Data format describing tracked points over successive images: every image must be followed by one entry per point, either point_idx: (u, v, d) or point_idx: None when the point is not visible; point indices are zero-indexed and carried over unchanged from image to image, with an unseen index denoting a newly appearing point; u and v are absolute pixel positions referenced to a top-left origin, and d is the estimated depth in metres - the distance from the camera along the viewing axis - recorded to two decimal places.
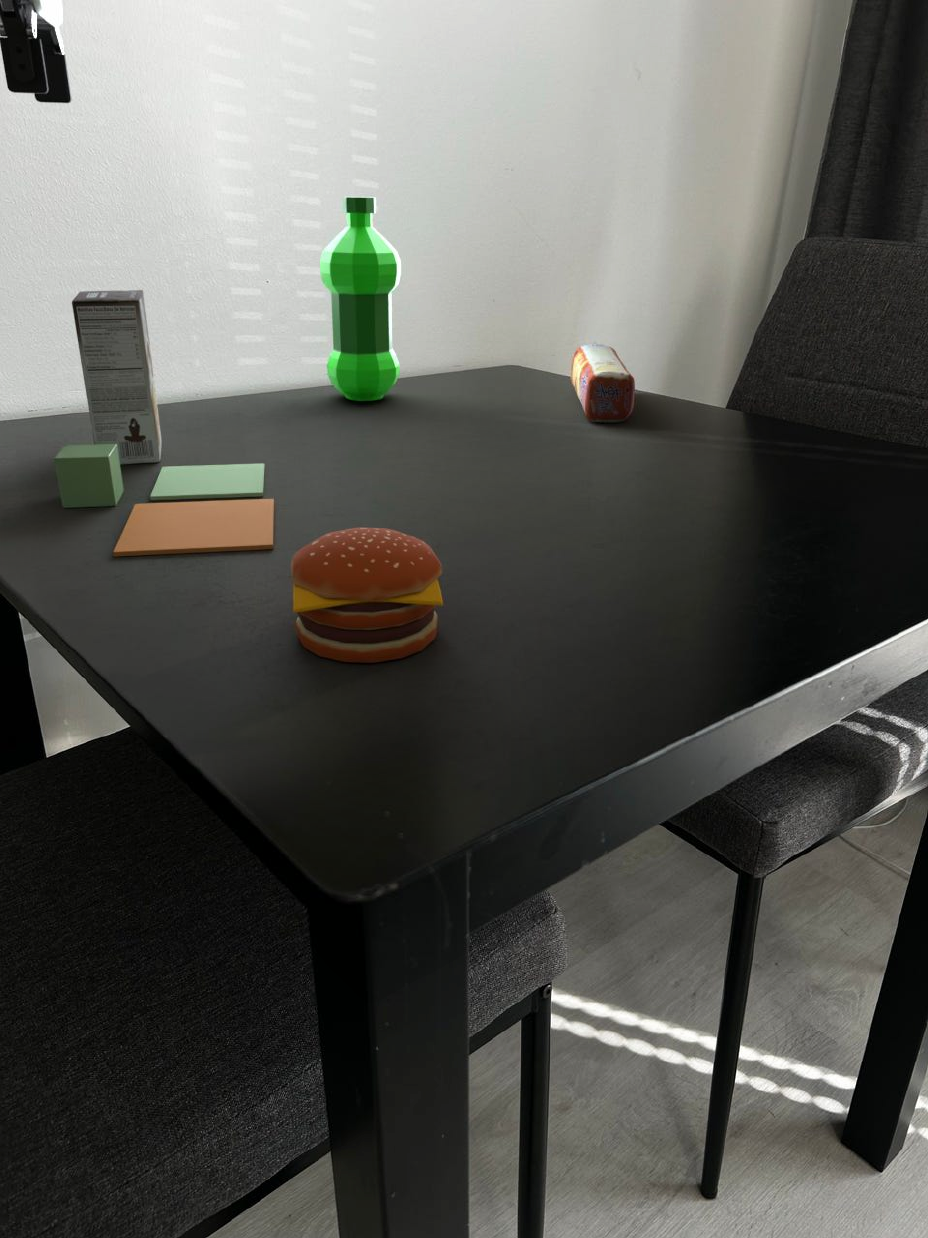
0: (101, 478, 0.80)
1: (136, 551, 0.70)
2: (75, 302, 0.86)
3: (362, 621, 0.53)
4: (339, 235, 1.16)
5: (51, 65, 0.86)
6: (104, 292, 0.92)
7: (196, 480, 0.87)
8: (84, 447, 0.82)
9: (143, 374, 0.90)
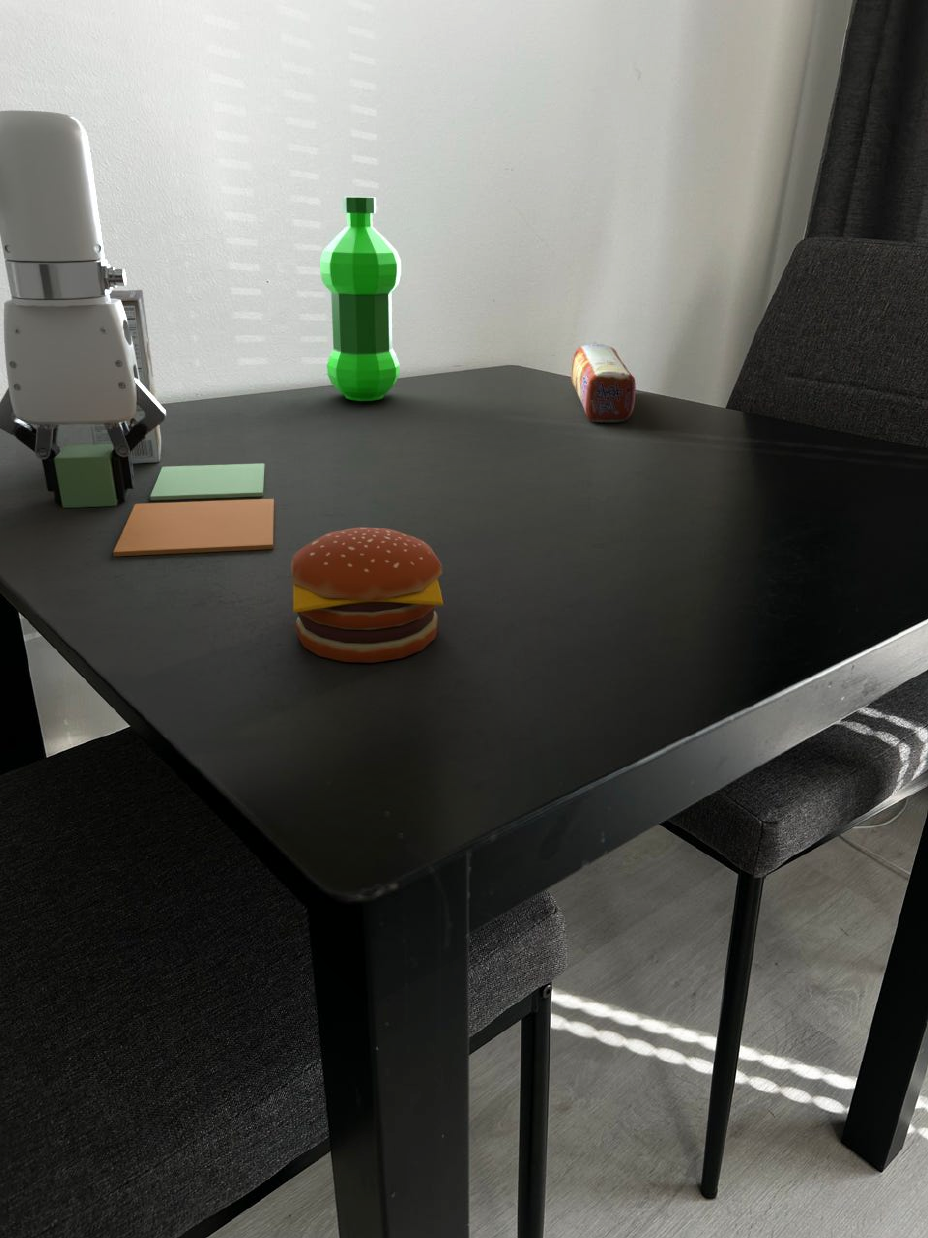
0: (101, 478, 0.80)
1: (136, 551, 0.70)
2: None
3: (362, 620, 0.53)
4: (339, 235, 1.16)
5: None
6: None
7: (196, 480, 0.87)
8: (84, 447, 0.82)
9: (143, 374, 0.90)
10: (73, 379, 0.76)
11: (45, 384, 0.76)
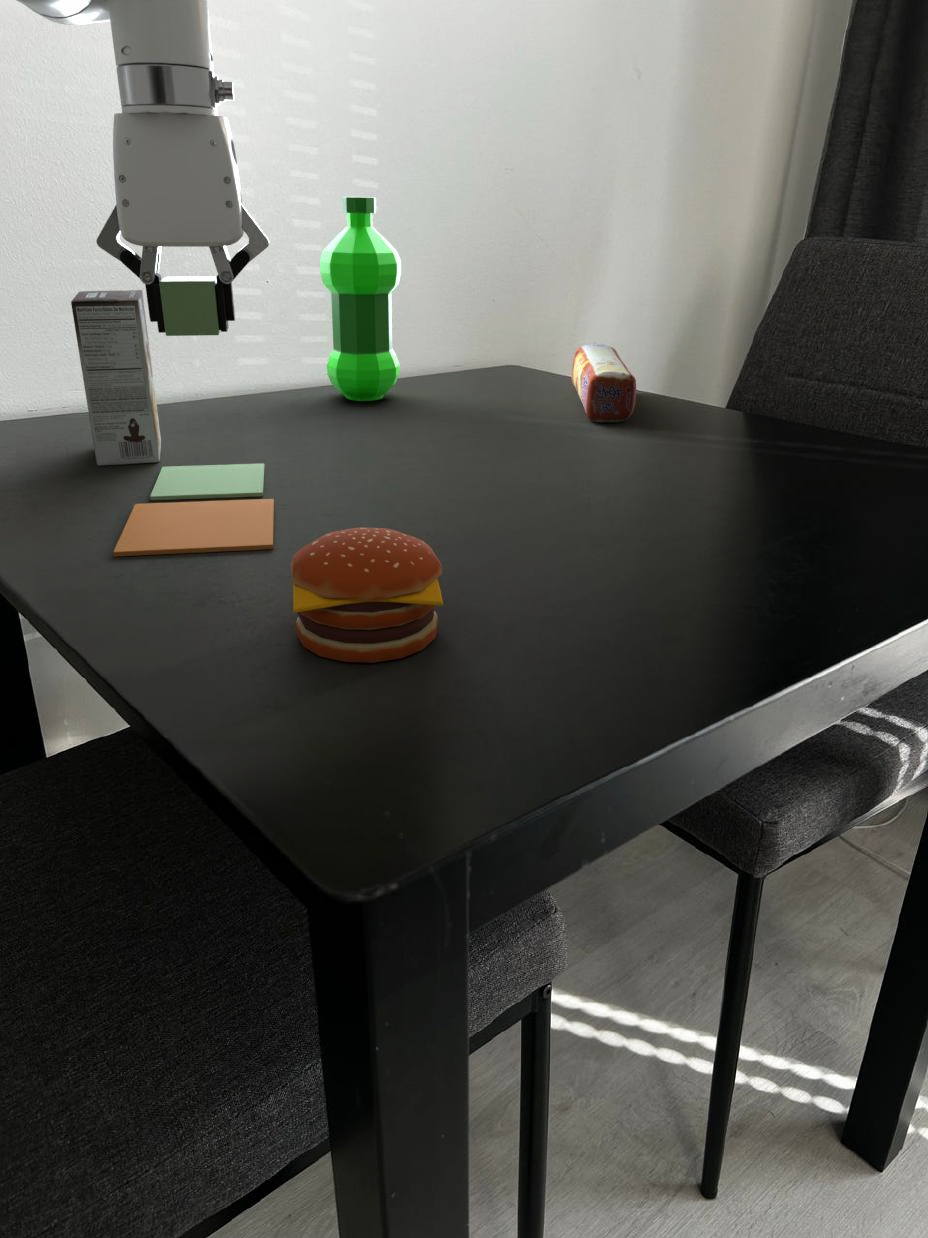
0: (205, 304, 0.79)
1: (136, 551, 0.70)
2: (74, 302, 0.86)
3: (362, 620, 0.53)
4: (339, 235, 1.16)
5: None
6: (103, 292, 0.92)
7: (196, 480, 0.87)
8: (185, 277, 0.81)
9: (143, 374, 0.90)
10: (181, 195, 0.75)
11: (153, 200, 0.75)
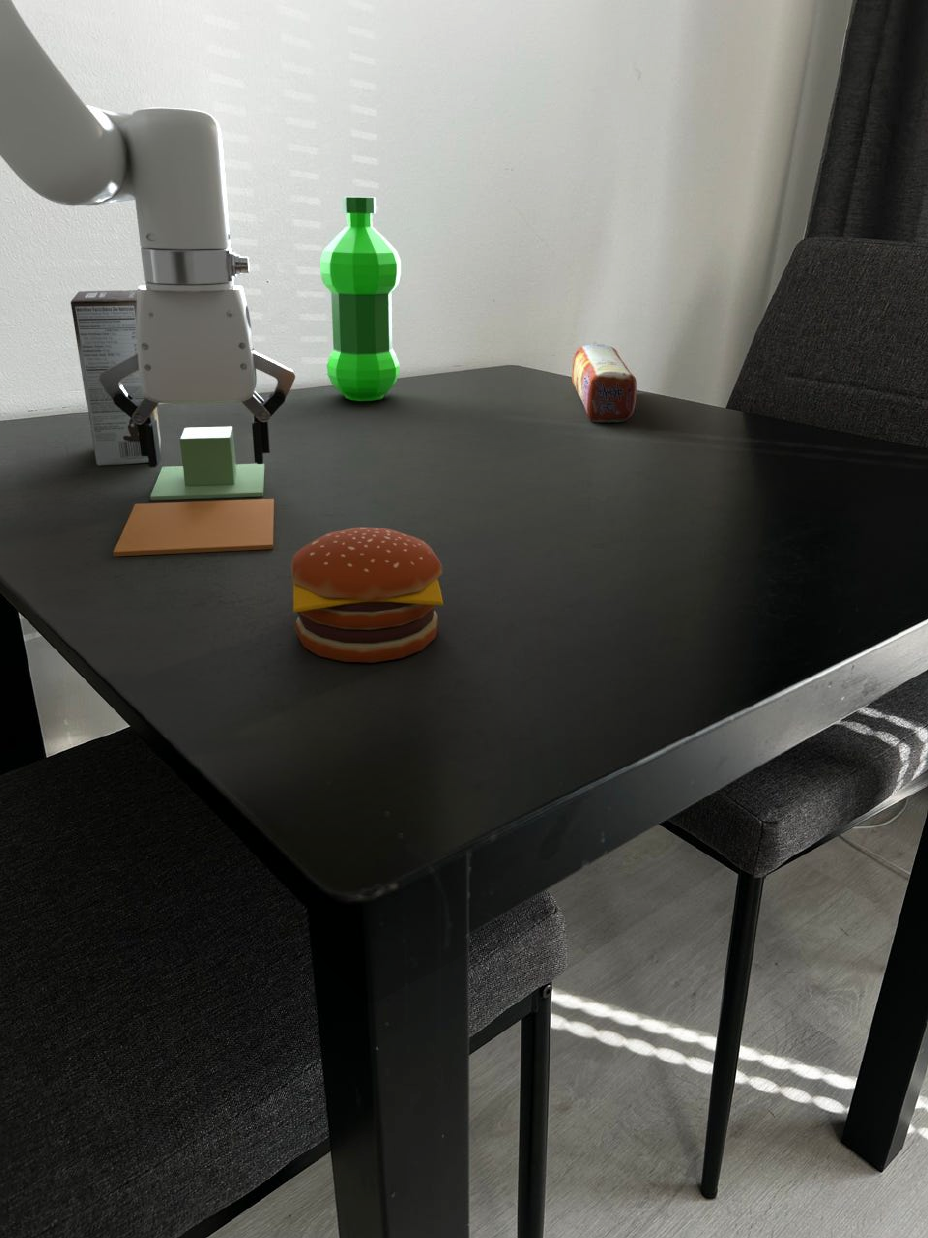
0: (222, 458, 0.85)
1: (136, 551, 0.70)
2: (74, 302, 0.86)
3: (362, 620, 0.53)
4: (339, 235, 1.16)
5: None
6: (103, 292, 0.92)
7: None
8: (203, 429, 0.87)
9: None
10: (199, 360, 0.81)
11: (173, 365, 0.80)
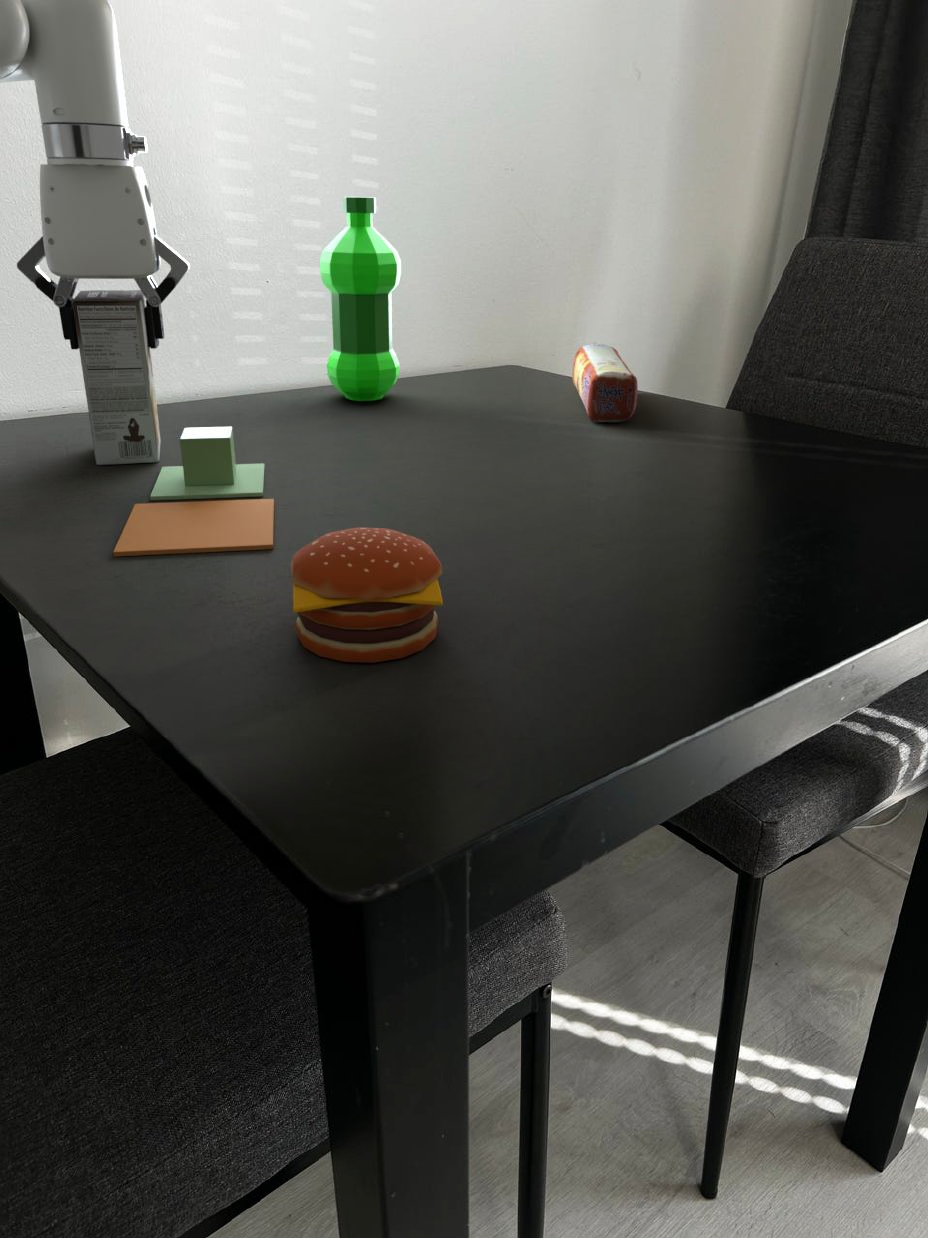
0: (222, 458, 0.85)
1: (136, 551, 0.70)
2: (76, 301, 0.86)
3: (362, 620, 0.53)
4: (339, 235, 1.16)
5: None
6: (105, 292, 0.92)
7: None
8: (203, 429, 0.87)
9: (143, 374, 0.90)
10: (100, 235, 0.86)
11: (76, 239, 0.86)
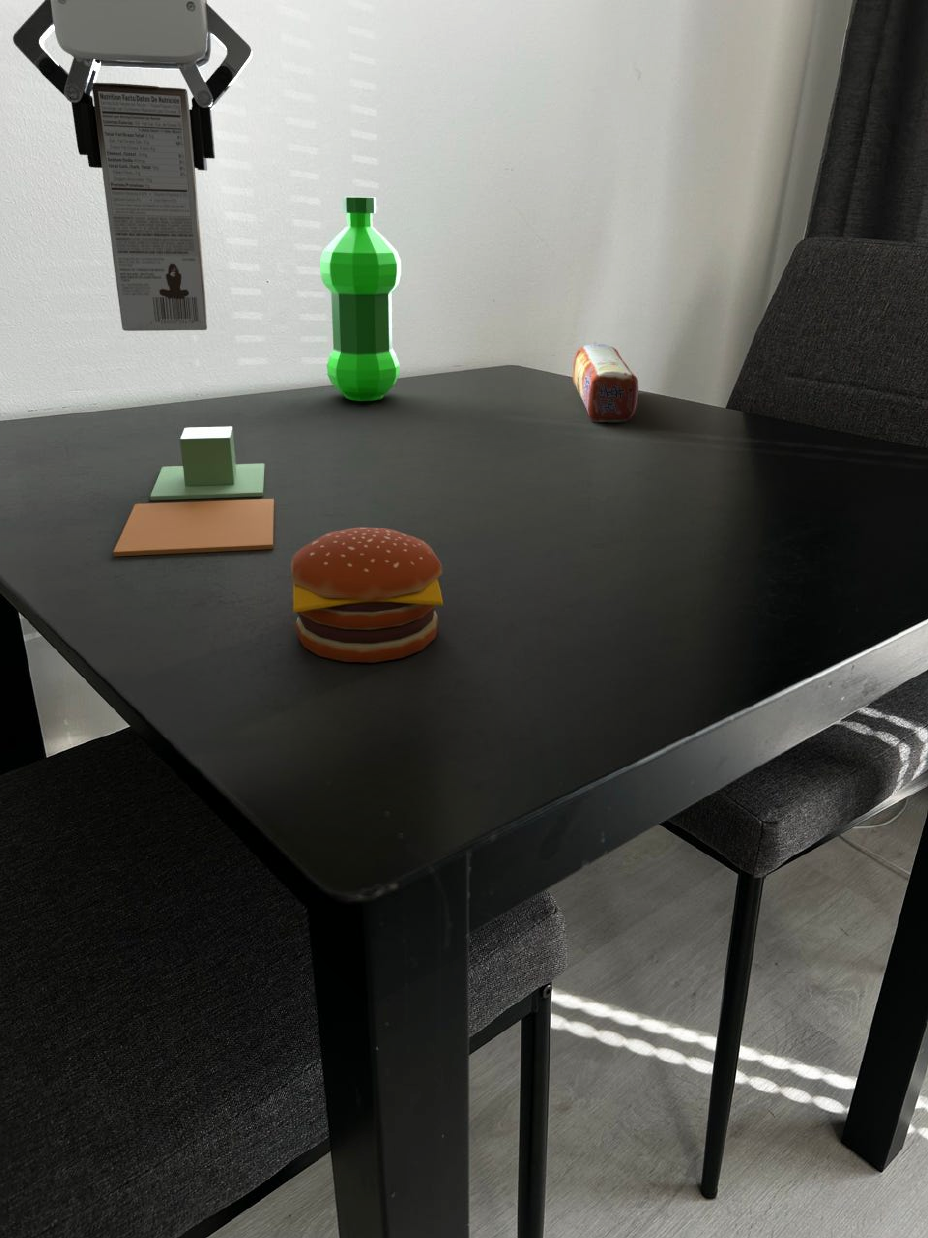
0: (222, 458, 0.85)
1: (136, 551, 0.70)
2: (97, 84, 0.61)
3: (362, 620, 0.53)
4: (339, 235, 1.16)
5: None
6: None
7: None
8: (203, 429, 0.87)
9: (188, 200, 0.65)
10: None
11: None
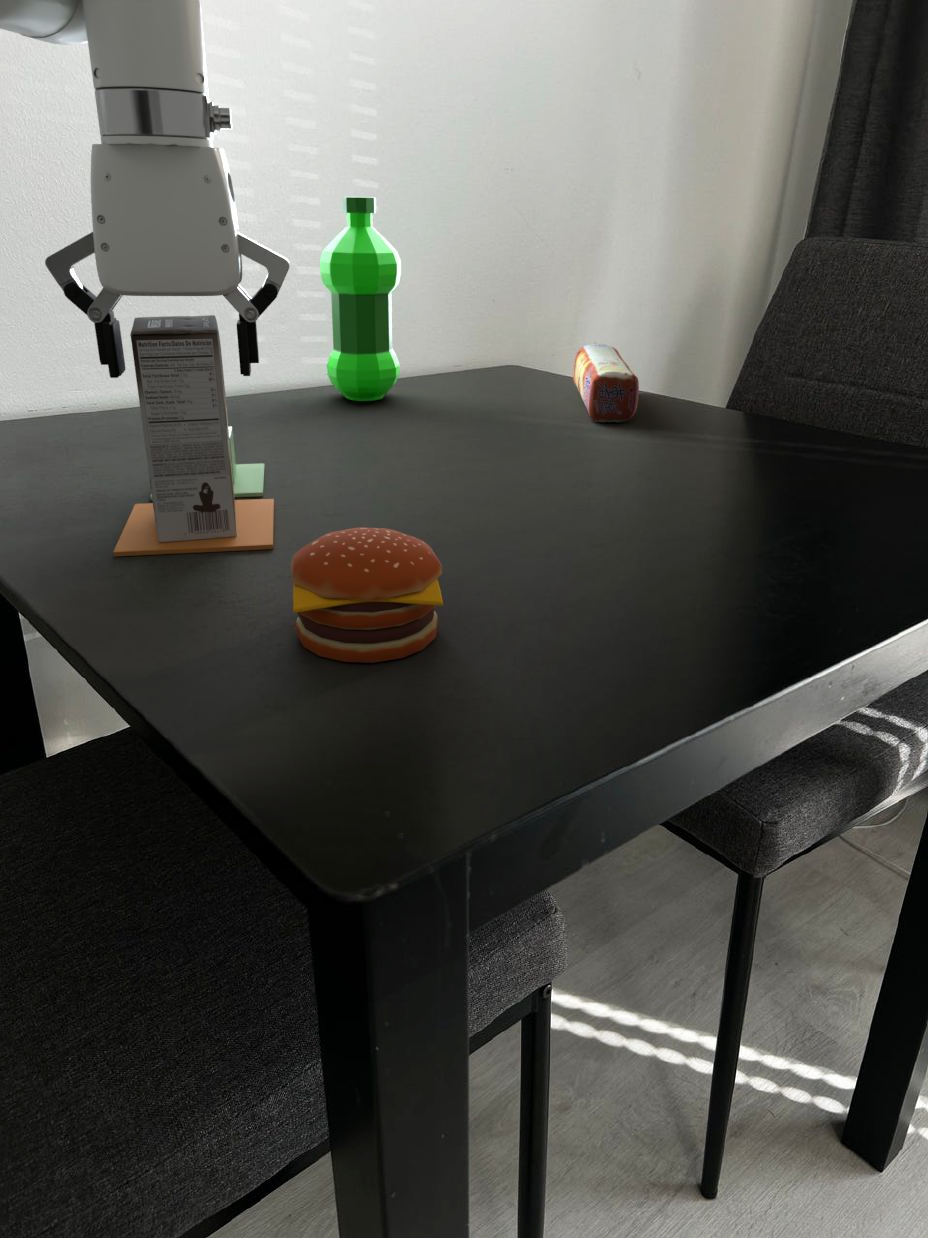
0: None
1: (136, 551, 0.70)
2: (135, 335, 0.65)
3: (362, 620, 0.53)
4: (339, 235, 1.16)
5: None
6: (168, 319, 0.71)
7: None
8: None
9: (220, 427, 0.69)
10: (170, 238, 0.65)
11: (137, 244, 0.64)
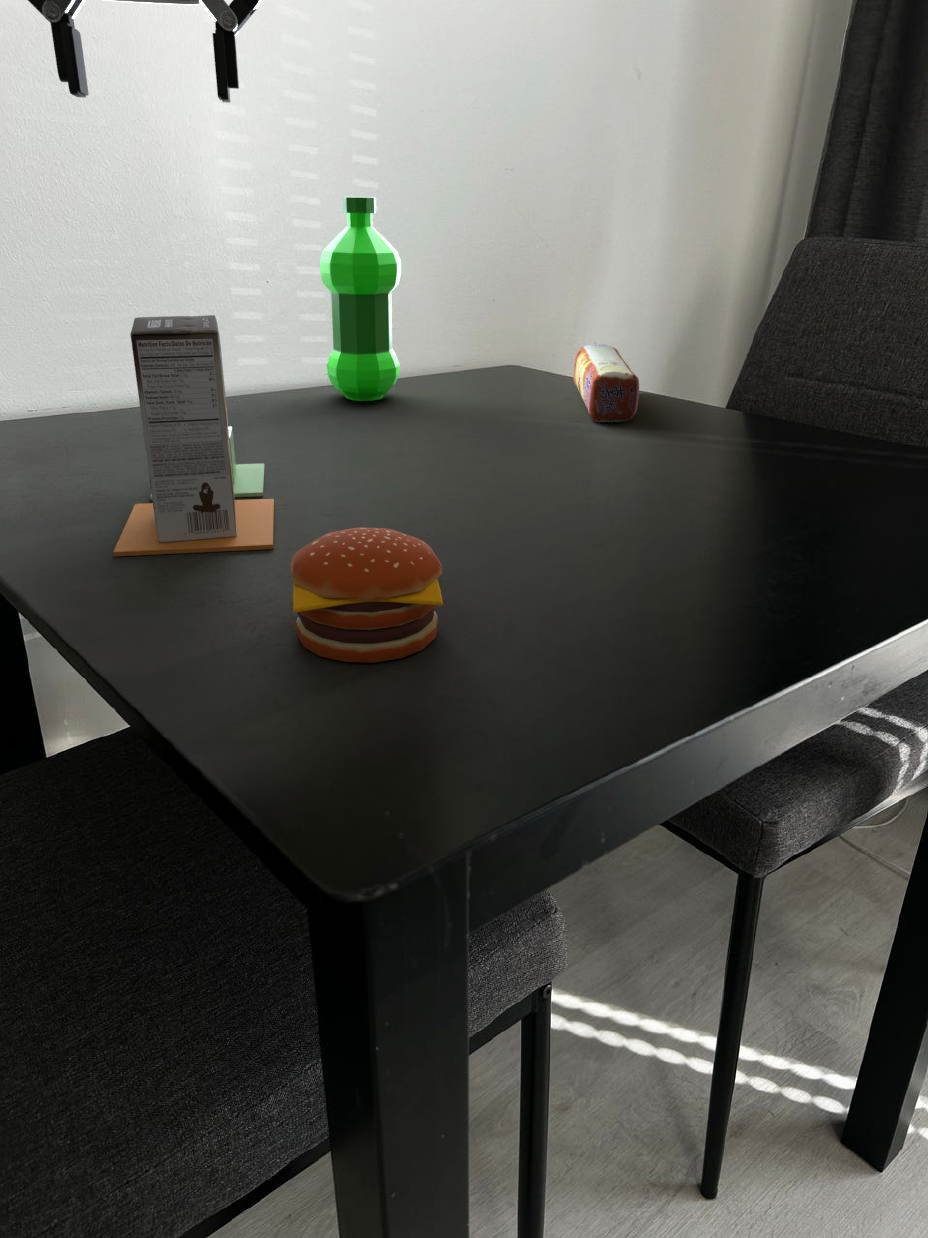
0: None
1: (136, 551, 0.70)
2: (135, 335, 0.65)
3: (362, 620, 0.53)
4: (339, 235, 1.16)
5: None
6: (168, 319, 0.71)
7: None
8: None
9: (220, 427, 0.69)
10: None
11: None
